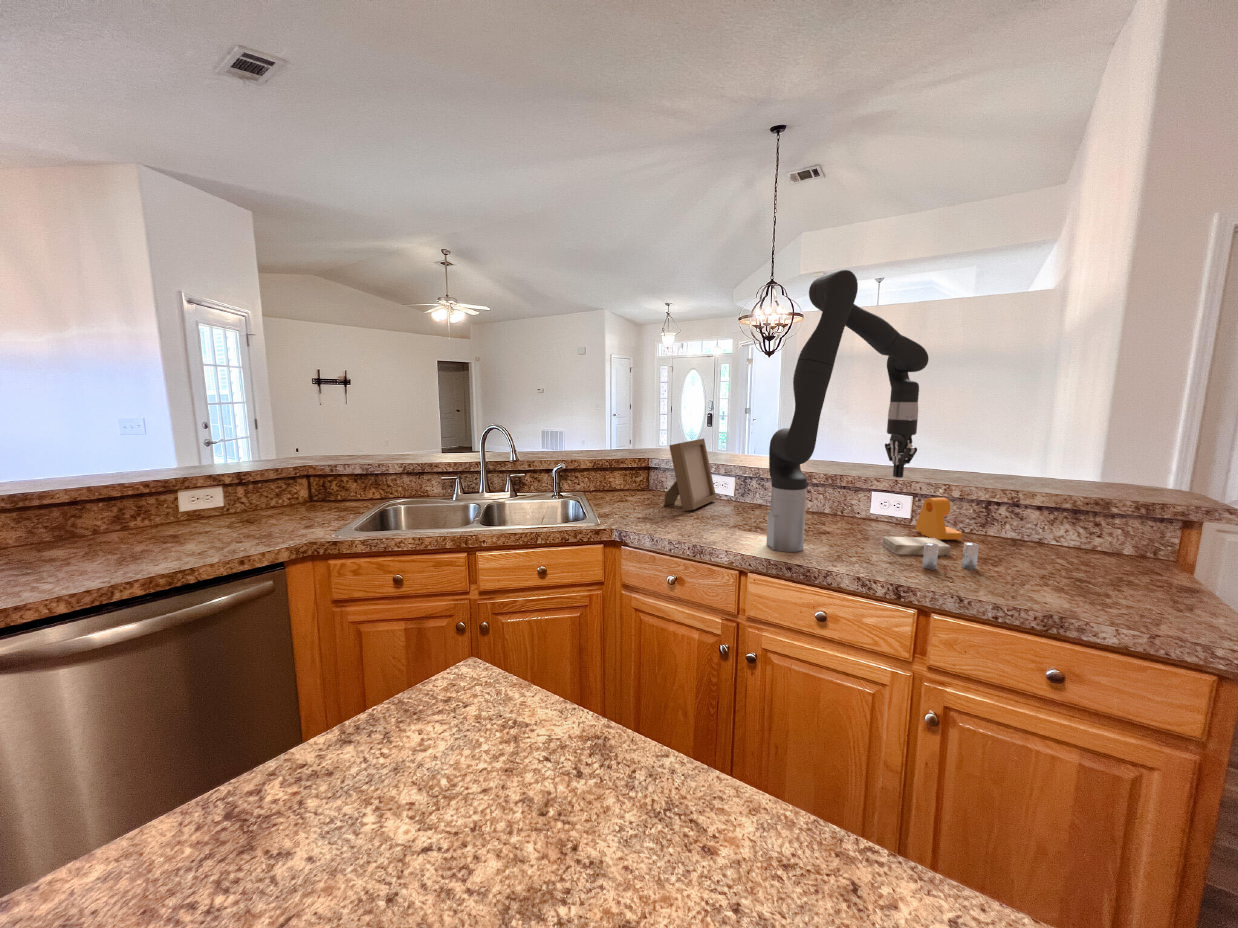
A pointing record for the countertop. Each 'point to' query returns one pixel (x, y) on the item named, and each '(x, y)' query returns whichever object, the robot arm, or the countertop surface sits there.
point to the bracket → (936, 520)
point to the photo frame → (691, 475)
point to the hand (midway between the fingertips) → (897, 477)
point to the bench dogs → (967, 562)
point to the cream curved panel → (913, 545)
